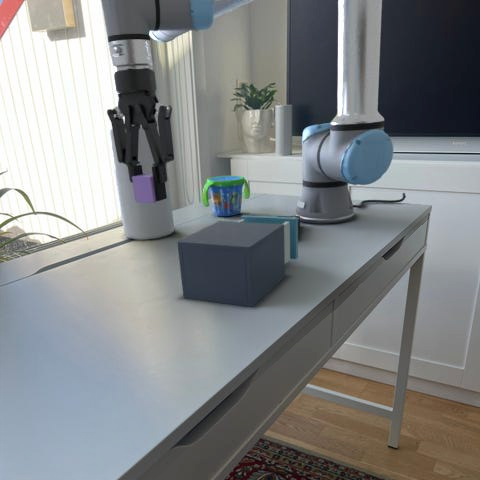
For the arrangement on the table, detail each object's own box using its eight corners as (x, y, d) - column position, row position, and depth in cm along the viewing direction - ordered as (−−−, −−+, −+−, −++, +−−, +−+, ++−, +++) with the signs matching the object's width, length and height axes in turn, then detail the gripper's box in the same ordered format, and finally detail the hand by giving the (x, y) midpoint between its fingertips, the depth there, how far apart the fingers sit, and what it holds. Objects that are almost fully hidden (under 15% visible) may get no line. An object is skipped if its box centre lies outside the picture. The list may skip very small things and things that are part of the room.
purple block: (148, 198, 99) (145, 173, 97) (166, 198, 97) (163, 173, 95) (135, 202, 96) (131, 176, 94) (153, 202, 94) (150, 176, 92)
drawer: (255, 246, 102) (253, 209, 99) (306, 250, 98) (306, 211, 94) (214, 274, 87) (210, 231, 84) (272, 280, 82) (271, 235, 79)
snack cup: (240, 207, 146) (238, 173, 141) (260, 212, 137) (259, 175, 133) (195, 216, 138) (191, 179, 134) (213, 221, 130) (210, 183, 126)
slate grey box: (223, 270, 91) (219, 220, 87) (285, 276, 86) (284, 224, 82) (183, 298, 79) (176, 241, 75) (252, 307, 74) (249, 247, 70)
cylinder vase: (161, 225, 129) (149, 126, 119) (183, 233, 119) (171, 126, 109) (117, 234, 123) (100, 130, 113) (136, 243, 113) (119, 130, 103)
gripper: (82, 73, 87) (105, 201, 97) (161, 64, 80) (177, 204, 90) (109, 73, 94) (128, 194, 103) (184, 65, 86) (197, 196, 96)
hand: (151, 199), depth 97 cm, fingers closed on purple block, 4 cm apart
